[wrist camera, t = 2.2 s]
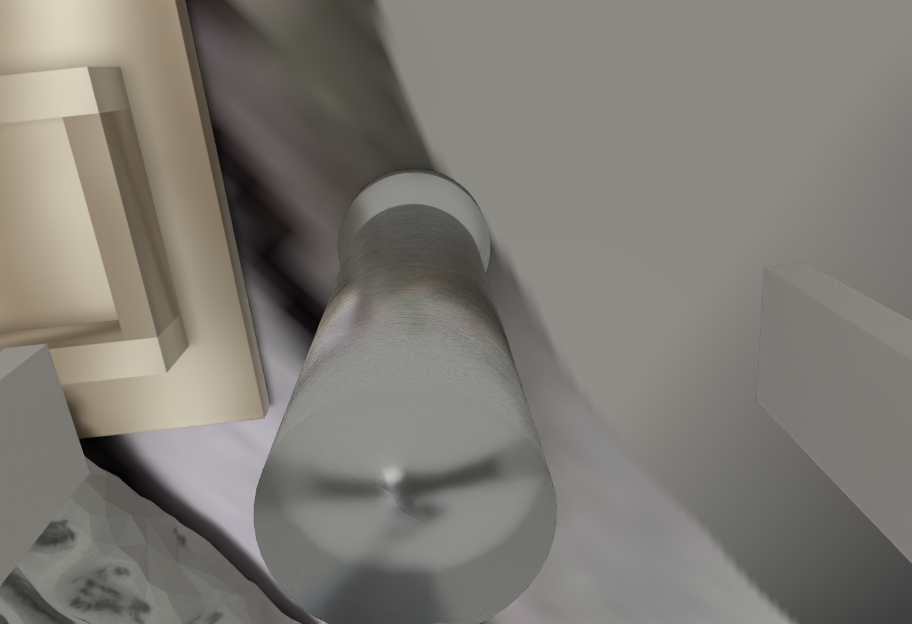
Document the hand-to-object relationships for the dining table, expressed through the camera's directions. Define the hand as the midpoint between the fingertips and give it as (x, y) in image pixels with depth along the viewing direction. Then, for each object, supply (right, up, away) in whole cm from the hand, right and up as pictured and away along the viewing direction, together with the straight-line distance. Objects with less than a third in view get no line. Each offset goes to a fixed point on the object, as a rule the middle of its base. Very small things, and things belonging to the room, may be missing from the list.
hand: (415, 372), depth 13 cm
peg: (-1, +3, +11) cm, 12 cm away
